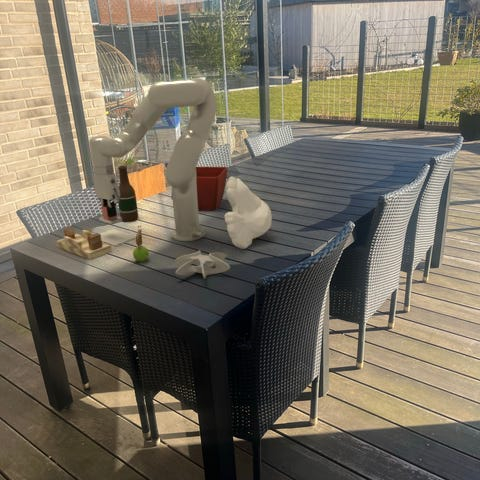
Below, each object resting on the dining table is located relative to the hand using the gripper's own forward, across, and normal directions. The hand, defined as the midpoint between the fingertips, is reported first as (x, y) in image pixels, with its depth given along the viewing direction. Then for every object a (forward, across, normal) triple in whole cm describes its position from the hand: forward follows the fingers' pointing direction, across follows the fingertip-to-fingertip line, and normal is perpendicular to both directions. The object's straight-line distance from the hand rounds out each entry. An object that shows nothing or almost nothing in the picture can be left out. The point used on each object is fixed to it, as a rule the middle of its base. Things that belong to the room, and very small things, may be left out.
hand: (110, 215), depth 188 cm
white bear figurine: (+9, -46, -26) cm, 54 cm away
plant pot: (+10, -3, -50) cm, 51 cm away
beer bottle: (+10, +13, -18) cm, 24 cm away
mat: (+10, 0, 0) cm, 10 cm away
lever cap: (+2, 0, 0) cm, 2 cm away
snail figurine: (+10, -27, +8) cm, 30 cm away
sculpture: (+10, -52, +3) cm, 53 cm away
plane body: (+10, 0, +14) cm, 17 cm away
